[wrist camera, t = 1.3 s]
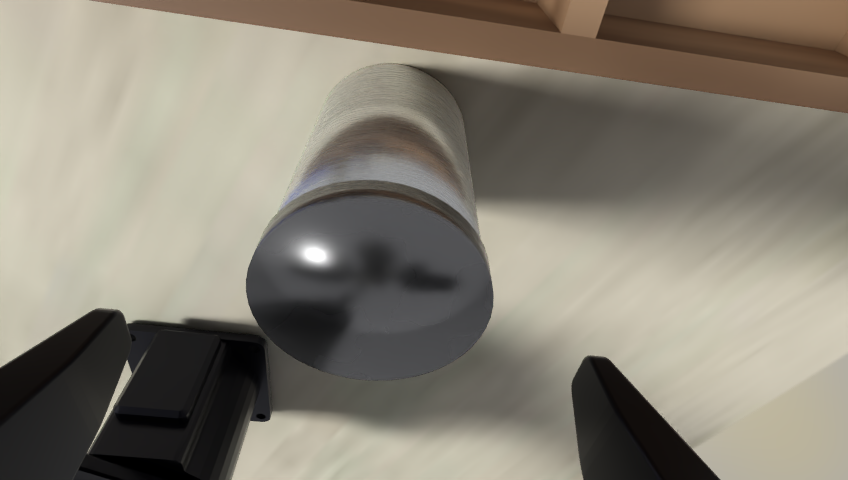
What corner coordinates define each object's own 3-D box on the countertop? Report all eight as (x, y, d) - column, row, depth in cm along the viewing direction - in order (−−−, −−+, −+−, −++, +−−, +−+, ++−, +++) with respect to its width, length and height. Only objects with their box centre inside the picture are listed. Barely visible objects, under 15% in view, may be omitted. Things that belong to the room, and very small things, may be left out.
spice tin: (453, 208, 19) (466, 389, 12) (315, 191, 18) (254, 369, 12) (482, 73, 15) (521, 220, 9) (316, 48, 15) (234, 185, 9)
